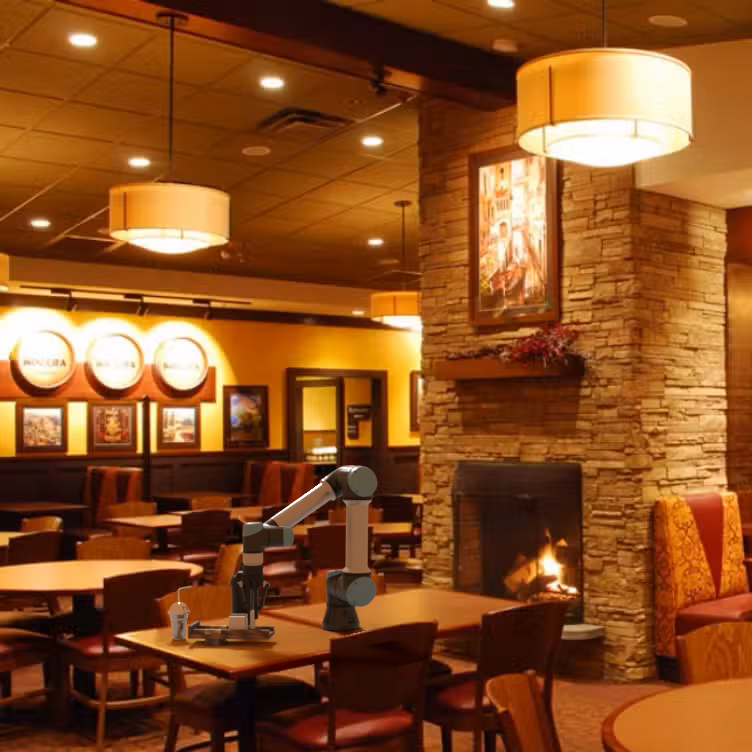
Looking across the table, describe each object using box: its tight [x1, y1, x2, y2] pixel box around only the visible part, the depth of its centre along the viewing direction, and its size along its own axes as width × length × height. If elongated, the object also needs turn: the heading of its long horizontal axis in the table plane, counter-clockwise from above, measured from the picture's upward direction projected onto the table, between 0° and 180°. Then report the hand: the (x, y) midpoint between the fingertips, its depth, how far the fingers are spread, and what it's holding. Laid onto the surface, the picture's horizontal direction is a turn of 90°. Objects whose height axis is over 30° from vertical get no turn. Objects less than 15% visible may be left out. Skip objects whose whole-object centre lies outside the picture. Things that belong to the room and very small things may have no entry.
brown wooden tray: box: [187, 620, 276, 647], centre depth 415 cm, size 30×13×7 cm, turn 84°
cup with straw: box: [167, 585, 193, 641], centre depth 425 cm, size 8×9×20 cm
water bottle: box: [229, 570, 254, 626], centre depth 443 cm, size 10×10×23 cm
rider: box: [228, 613, 248, 630], centre depth 415 cm, size 6×6×7 cm
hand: (252, 628), depth 414 cm, fingers closed
